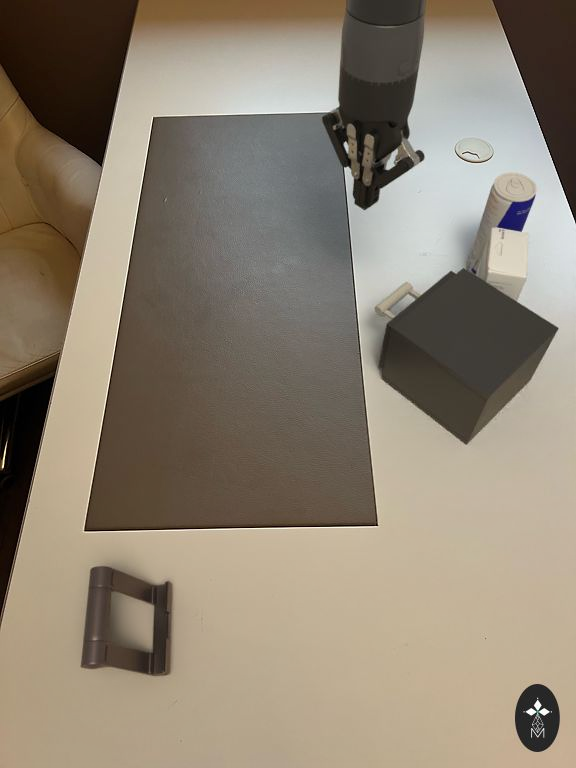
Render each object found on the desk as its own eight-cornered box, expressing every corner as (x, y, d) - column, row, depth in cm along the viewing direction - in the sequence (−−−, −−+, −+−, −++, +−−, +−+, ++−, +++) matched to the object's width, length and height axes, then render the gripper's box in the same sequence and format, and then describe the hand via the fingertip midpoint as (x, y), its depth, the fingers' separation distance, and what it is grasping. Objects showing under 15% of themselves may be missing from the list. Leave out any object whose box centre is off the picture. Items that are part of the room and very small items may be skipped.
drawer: (353, 348, 83) (359, 303, 75) (413, 299, 87) (424, 252, 80) (455, 426, 76) (472, 386, 69) (514, 368, 81) (536, 324, 73)
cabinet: (381, 379, 81) (391, 326, 72) (446, 322, 86) (463, 267, 77) (466, 445, 75) (488, 397, 67) (530, 380, 81) (559, 328, 72)
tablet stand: (171, 677, 61) (155, 660, 54) (90, 684, 61) (64, 668, 54) (173, 587, 66) (159, 561, 59) (98, 593, 66) (75, 568, 59)
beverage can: (480, 288, 90) (510, 204, 77) (459, 262, 93) (484, 178, 80) (512, 276, 91) (547, 192, 79) (491, 251, 94) (520, 166, 81)
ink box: (502, 340, 84) (529, 278, 75) (465, 333, 85) (487, 272, 75) (504, 293, 89) (530, 230, 79) (469, 288, 90) (490, 224, 80)
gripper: (461, 68, 58) (429, 215, 72) (355, 19, 63) (345, 165, 78) (408, 101, 55) (386, 248, 69) (302, 47, 60) (302, 193, 75)
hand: (364, 203), depth 73 cm, fingers closed
